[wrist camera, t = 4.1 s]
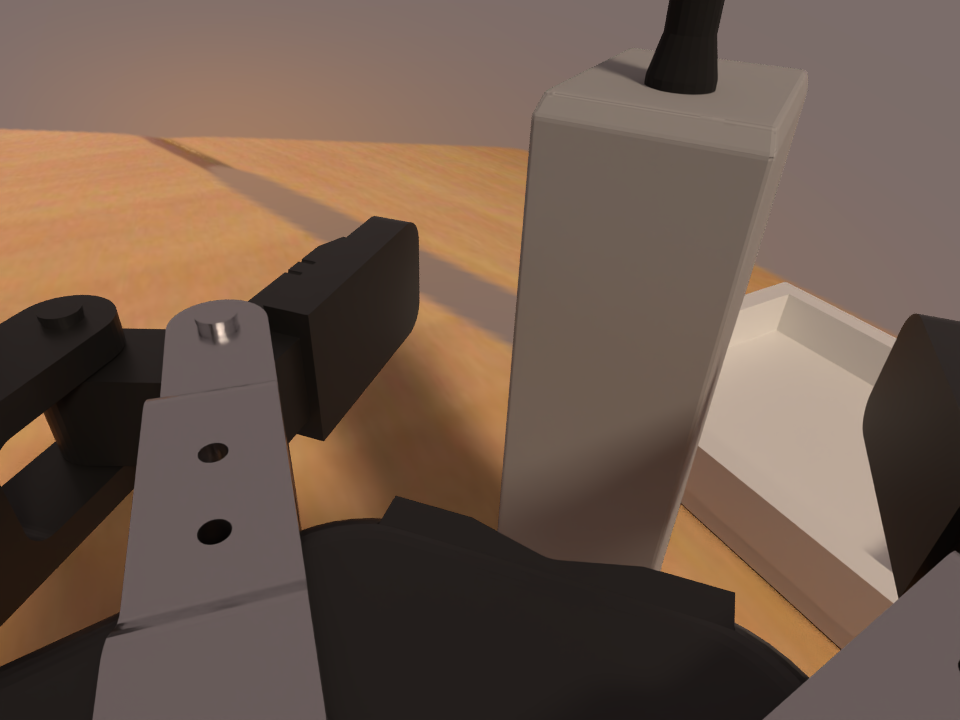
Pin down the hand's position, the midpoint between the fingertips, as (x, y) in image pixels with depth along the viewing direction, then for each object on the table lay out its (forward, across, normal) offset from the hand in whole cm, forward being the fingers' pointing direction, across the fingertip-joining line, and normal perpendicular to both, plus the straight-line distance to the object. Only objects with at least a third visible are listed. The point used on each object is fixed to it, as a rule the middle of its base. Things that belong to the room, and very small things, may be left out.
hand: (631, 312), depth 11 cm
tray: (+15, -8, +14) cm, 22 cm away
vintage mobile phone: (+3, 0, +14) cm, 14 cm away
